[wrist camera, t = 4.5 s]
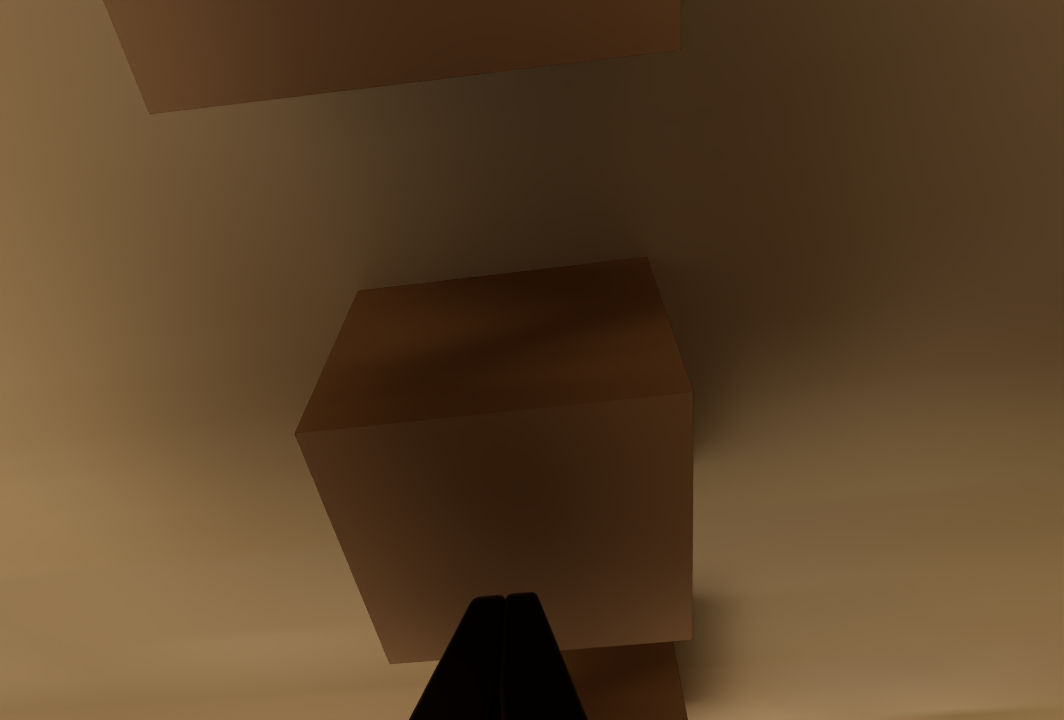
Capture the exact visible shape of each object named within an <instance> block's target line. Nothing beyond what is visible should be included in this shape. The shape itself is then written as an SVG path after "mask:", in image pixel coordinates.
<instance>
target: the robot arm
mask: <svg viewBox="0 0 1064 720" xmlns="http://www.w3.org/2000/svg"><path fill="white" fill-rule="evenodd" d="M409 720H589V719H588V717H587V714H586V712H585V710H584V707H583V705H582V702H581V700H580V697H579V695H578V692H577V690H576V688H575V685H574V683H573V680H572V678H571V675H570V673H569V670H568V668H567V666H566V663H565V661H564V658H563V656H562V653H561V651H560V648H559V646H558V644H557V641H556V639H555V636H554V634H553V631H552V629H551V626H550V624H549V622H548V619H547V617H546V614H545V612H544V609H543V607H542V604H541V602H540V600H539V597H538V595H537V594H536V593H534V592H524V593H513V594H509V595H507V596H506V598H504V596H502V595H491V596H481V597H476V598H474V599H473V600H472V601H471V602H470V604H469V606H468V608H467V610H466V611H465V613H464V615H463V617H462V619H461V621H460V623H459V625H458V627H457V629H456V631H455V633H454V634H453V636H452V638H451V640H450V642H449V644H448V646H447V648H446V650H445V652H444V654H443V655H442V657H441V659H440V661H439V663H438V665H437V667H436V669H435V671H434V673H433V675H432V677H431V678H430V680H429V682H428V684H427V686H426V688H425V690H424V692H423V694H422V696H421V698H420V699H419V701H418V703H417V705H416V707H415V709H414V711H413V713H412V715H411V717H410V719H409Z"/></svg>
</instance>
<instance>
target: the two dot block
mask: <svg viewBox="0 0 1064 720" xmlns="http://www.w3.org/2000/svg"><path fill="white" fill-rule="evenodd" d="M103 1H104V3H105V6H106V8H107V11H108V13H109V16H110V18H111V21H112V23H113V25H114V28H115V30H116V33H117V35H118V38H119V40H120V43H121V45H122V47H123V50H124V52H125V55H126V57H127V60H128V62H129V65H130V67H131V70H132V72H133V74H134V77H135V79H136V82H137V84H138V87H139V89H140V92H141V94H142V97H143V99H144V101H145V104H146V106H147V109H148V111H149V114H156V113H164V112H172V111H180V110H189V109H197V108H205V107H213V106H222V105H230V104H238V103H246V102H255V101H263V100H271V99H280V98H288V97H296V96H304V95H313V94H321V93H329V92H337V91H346V90H354V89H362V88H370V87H379V86H387V85H395V84H403V83H412V82H420V81H428V80H437V79H445V78H453V77H461V76H470V75H478V74H486V73H494V72H503V71H511V70H519V69H527V68H536V67H544V66H552V65H560V64H569V63H577V62H585V61H593V60H602V59H610V58H618V57H627V56H635V55H643V54H651V53H660V52H668V51H676V50H681V0H103Z"/></svg>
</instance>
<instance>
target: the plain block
mask: <svg viewBox="0 0 1064 720" xmlns="http://www.w3.org/2000/svg"><path fill="white" fill-rule="evenodd" d="M693 410H694V392H693V389H692V386H691V383H690V380H689V378H688V375H687V372H686V369H685V366H684V363H683V360H682V357H681V354H680V351H679V349H678V346H677V343H676V340H675V337H674V334H673V331H672V328H671V325H670V322H669V320H668V317H667V314H666V311H665V308H664V305H663V302H662V299H661V296H660V293H659V291H658V288H657V285H656V282H655V279H654V276H653V273H652V270H651V267H650V264H649V262H648V259H647V257H642V258H633V259H625V260H616V261H608V262H599V263H591V264H582V265H574V266H565V267H557V268H548V269H540V270H531V271H523V272H514V273H506V274H497V275H489V276H480V277H471V278H463V279H454V280H446V281H437V282H429V283H420V284H412V285H403V286H395V287H386V288H378V289H369V290H361V291H358V292H357V295H356V297H355V299H354V301H353V304H352V306H351V308H350V310H349V313H348V315H347V317H346V319H345V322H344V324H343V326H342V328H341V331H340V333H339V335H338V337H337V339H336V342H335V344H334V346H333V348H332V351H331V353H330V355H329V357H328V360H327V362H326V364H325V366H324V369H323V371H322V373H321V375H320V378H319V380H318V382H317V384H316V387H315V389H314V391H313V393H312V396H311V398H310V400H309V402H308V405H307V407H306V409H305V411H304V414H303V416H302V418H301V420H300V423H299V425H298V427H297V429H296V432H295V436H296V439H297V441H298V443H299V446H300V448H301V451H302V453H303V456H304V458H305V460H306V463H307V465H308V468H309V470H310V472H311V475H312V477H313V480H314V482H315V485H316V487H317V489H318V492H319V494H320V497H321V499H322V501H323V504H324V506H325V509H326V511H327V514H328V516H329V518H330V521H331V523H332V526H333V528H334V531H335V533H336V535H337V538H338V540H339V543H340V545H341V547H342V550H343V552H344V555H345V557H346V560H347V562H348V564H349V567H350V569H351V572H352V574H353V577H354V579H355V581H356V584H357V586H358V589H359V591H360V593H361V596H362V598H363V601H364V603H365V606H366V608H367V610H368V613H369V615H370V618H371V620H372V622H373V625H374V627H375V630H376V632H377V635H378V637H379V639H380V642H381V644H382V647H383V649H384V652H385V654H386V656H387V659H388V661H389V664H397V663H410V662H422V661H435V660H440V659H441V657H442V655H443V654H444V652H445V650H446V648H447V646H448V644H449V642H450V640H451V638H452V636H453V634H454V633H455V631H456V629H457V627H458V625H459V623H460V621H461V619H462V617H463V615H464V613H465V611H466V610H467V608H468V606H469V604H470V602H471V601H472V600H473V599H474V598H476V597H481V596H491V595H502V596H504V598H506V596H507V595H509V594H513V593H524V592H534V593H536V594H537V595H538V597H539V600H540V602H541V604H542V607H543V609H544V612H545V614H546V617H547V619H548V622H549V624H550V626H551V629H552V631H553V634H554V636H555V639H556V641H557V644H558V646H559V648H560V650H572V649H584V648H596V647H609V646H621V645H634V644H646V643H659V642H671V641H683V640H692V570H693Z"/></svg>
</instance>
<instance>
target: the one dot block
mask: <svg viewBox="0 0 1064 720" xmlns="http://www.w3.org/2000/svg"><path fill="white" fill-rule="evenodd" d="M560 651H561V653H562V656H563V658H564V661H565V663H566V666H567V668H568V670H569V673H570V675H571V678H572V680H573V683H574V685H575V688H576V690H577V692H578V695H579V697H580V700H581V702H582V705H583V707H584V710H585V712H586V714H587V717H588V719H589V720H688V718H687V713H686V708H685V703H684V698H683V693H682V688H681V683H680V678H679V673H678V667H677V662H676V657H675V652H674V647H673V642H672V641H671V642H659V643H646V644H634V645H621V646H609V647H596V648H584V649H572V650H560Z"/></svg>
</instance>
